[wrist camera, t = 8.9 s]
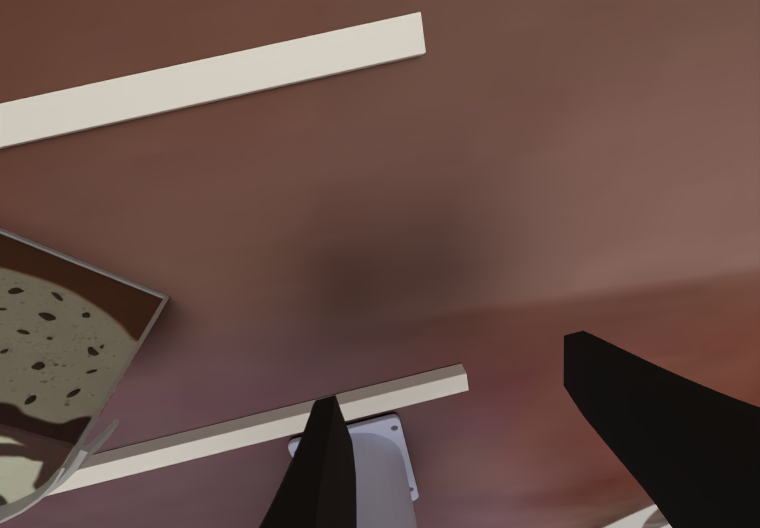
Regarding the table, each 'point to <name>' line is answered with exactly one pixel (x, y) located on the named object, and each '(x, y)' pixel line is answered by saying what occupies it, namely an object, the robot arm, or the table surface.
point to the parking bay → (201, 87)
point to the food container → (59, 362)
